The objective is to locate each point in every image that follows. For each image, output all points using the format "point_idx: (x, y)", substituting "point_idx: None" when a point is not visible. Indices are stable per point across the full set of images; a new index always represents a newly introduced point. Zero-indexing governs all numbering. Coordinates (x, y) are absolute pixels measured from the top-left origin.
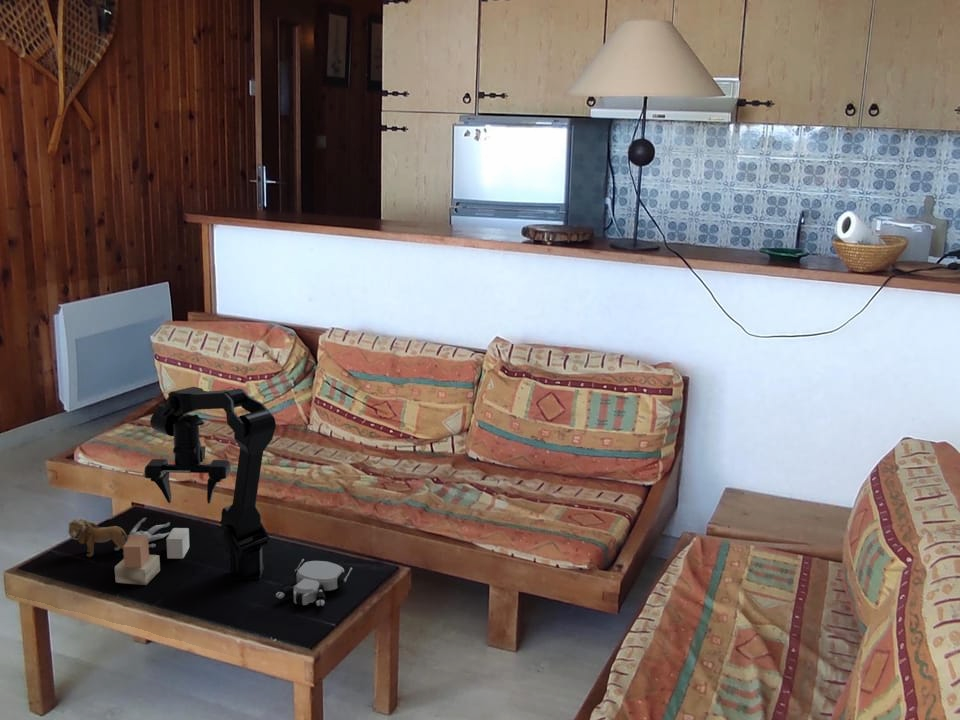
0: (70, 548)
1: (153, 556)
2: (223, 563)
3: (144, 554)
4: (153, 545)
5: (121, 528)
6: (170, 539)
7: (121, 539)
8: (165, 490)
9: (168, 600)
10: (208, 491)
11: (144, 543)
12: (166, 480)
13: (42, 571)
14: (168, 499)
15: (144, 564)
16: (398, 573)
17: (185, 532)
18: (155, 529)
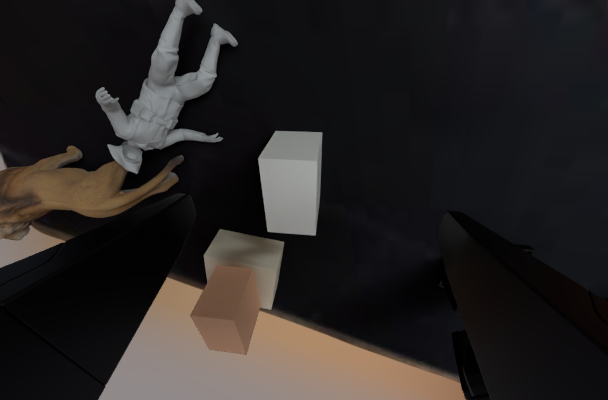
0: (20, 136)
1: (265, 273)
2: (426, 225)
3: (252, 305)
4: (216, 141)
5: (102, 199)
6: (280, 232)
7: (137, 201)
8: (131, 332)
9: (329, 316)
10: (491, 372)
11: (243, 329)
12: (26, 397)
13: (73, 229)
14: (180, 244)
15: (261, 296)
16: None
17: (314, 195)
18: (172, 69)
